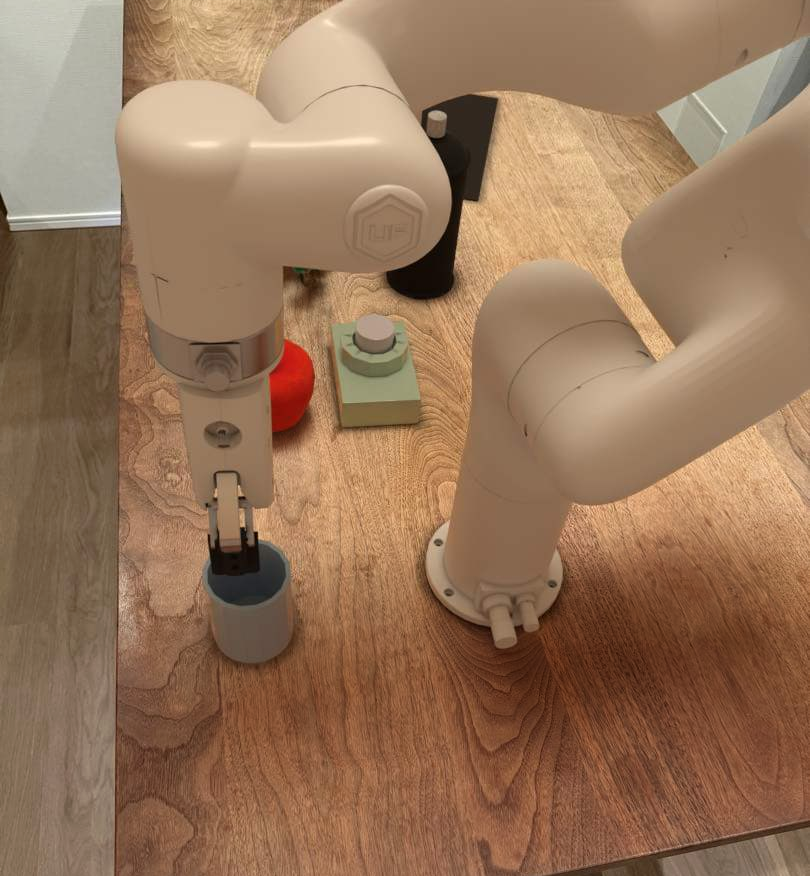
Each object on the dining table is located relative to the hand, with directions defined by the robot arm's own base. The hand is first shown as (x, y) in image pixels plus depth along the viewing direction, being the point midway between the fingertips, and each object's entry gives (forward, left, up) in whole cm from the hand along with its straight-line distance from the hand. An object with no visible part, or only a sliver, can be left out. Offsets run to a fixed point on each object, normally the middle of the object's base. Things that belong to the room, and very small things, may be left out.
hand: (234, 514), depth 62 cm
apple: (+25, -3, -16) cm, 30 cm away
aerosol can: (+47, -22, -16) cm, 54 cm away
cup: (0, 0, -16) cm, 16 cm away
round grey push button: (+30, -14, -11) cm, 35 cm away
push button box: (+29, -14, -16) cm, 36 cm away
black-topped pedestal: (+80, -24, -16) cm, 85 cm away
